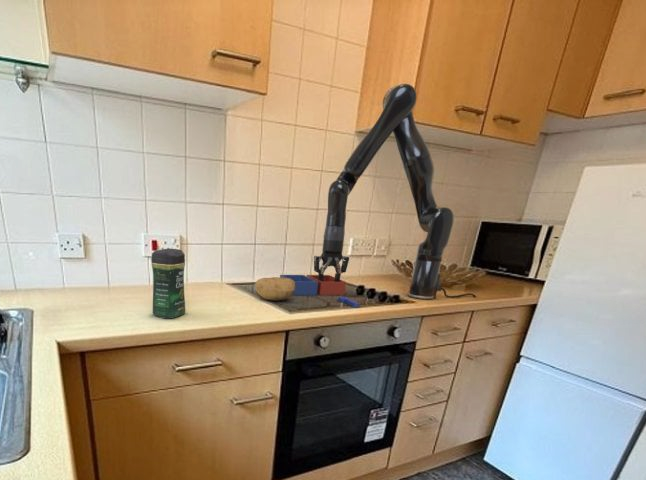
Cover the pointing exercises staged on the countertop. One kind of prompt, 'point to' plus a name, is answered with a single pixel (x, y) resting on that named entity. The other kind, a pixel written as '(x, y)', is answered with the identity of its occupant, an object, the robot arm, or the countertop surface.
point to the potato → (275, 288)
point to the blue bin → (303, 284)
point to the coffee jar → (168, 283)
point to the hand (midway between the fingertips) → (328, 283)
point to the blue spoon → (348, 301)
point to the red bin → (329, 285)
